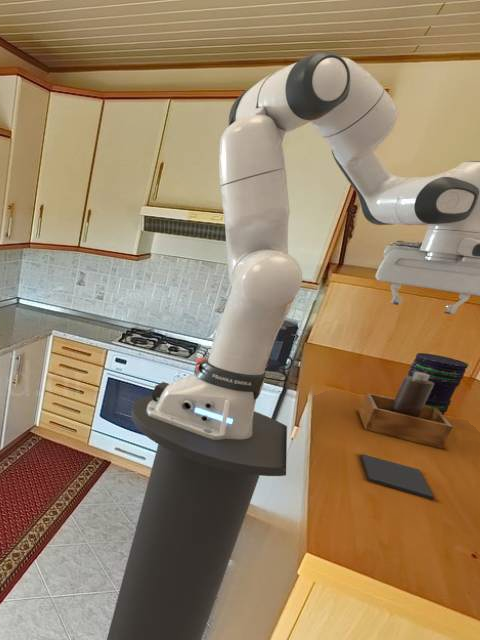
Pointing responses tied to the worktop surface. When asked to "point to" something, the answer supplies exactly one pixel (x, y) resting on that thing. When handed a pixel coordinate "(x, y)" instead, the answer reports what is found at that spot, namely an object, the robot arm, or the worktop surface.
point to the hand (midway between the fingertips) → (421, 308)
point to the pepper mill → (412, 395)
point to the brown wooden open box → (404, 422)
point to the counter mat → (396, 476)
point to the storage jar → (439, 377)
